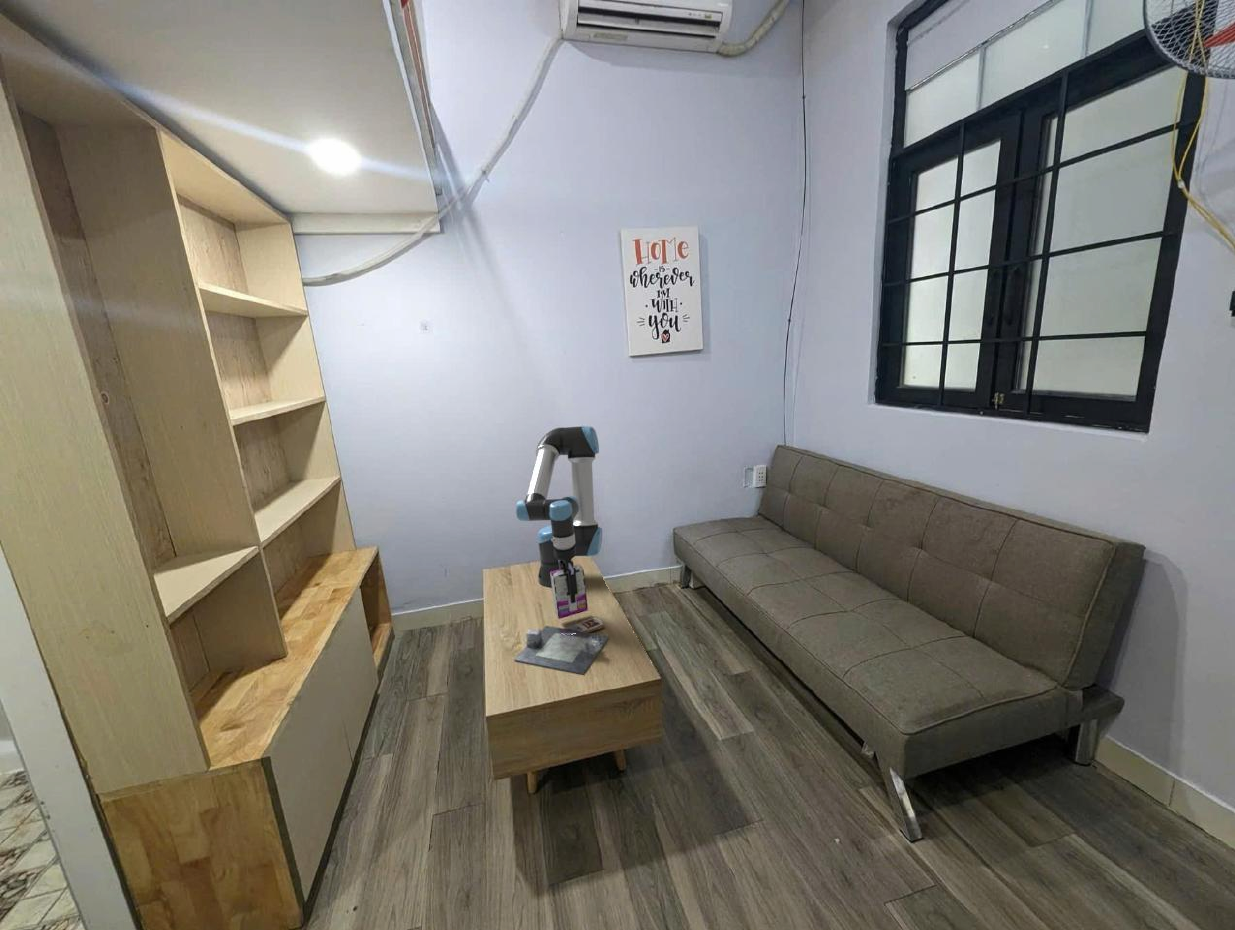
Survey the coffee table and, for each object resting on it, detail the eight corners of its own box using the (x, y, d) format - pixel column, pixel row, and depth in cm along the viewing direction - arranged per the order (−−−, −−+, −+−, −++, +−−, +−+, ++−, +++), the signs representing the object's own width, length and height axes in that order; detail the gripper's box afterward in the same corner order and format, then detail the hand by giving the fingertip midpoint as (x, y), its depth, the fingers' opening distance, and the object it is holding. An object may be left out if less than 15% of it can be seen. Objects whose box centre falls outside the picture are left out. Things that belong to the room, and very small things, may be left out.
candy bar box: (583, 604, 176) (579, 563, 172) (588, 610, 172) (584, 568, 168) (554, 612, 172) (549, 570, 168) (558, 619, 168) (553, 576, 163)
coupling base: (511, 660, 151) (509, 646, 150) (543, 626, 169) (542, 614, 168) (586, 675, 142) (585, 661, 141) (612, 637, 160) (611, 625, 159)
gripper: (546, 539, 172) (553, 597, 178) (561, 557, 156) (568, 621, 162) (566, 534, 175) (572, 592, 181) (583, 552, 159) (589, 615, 165)
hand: (570, 606), depth 171 cm, fingers closed on candy bar box, 5 cm apart
